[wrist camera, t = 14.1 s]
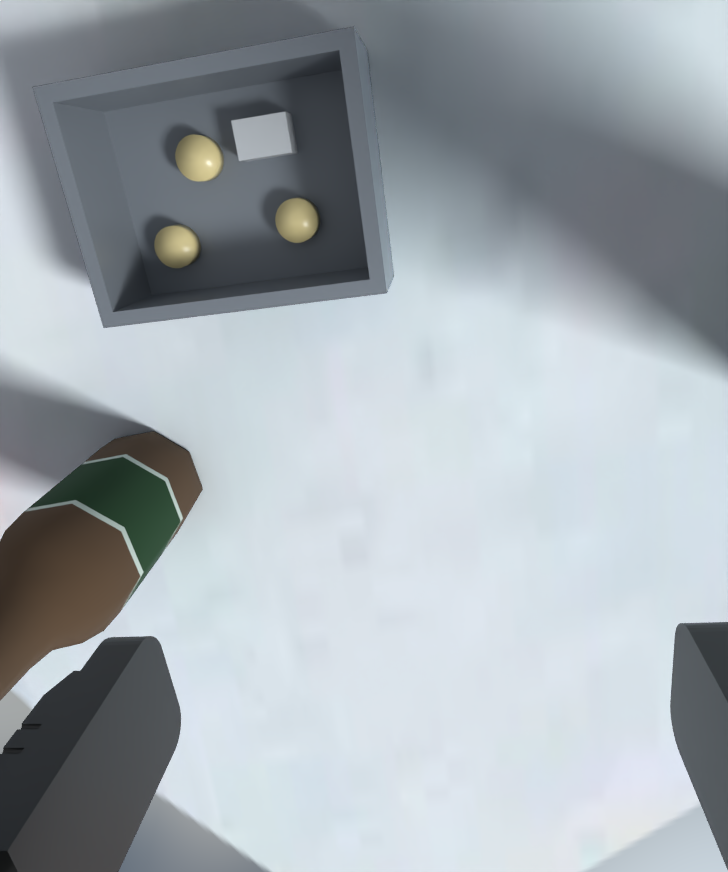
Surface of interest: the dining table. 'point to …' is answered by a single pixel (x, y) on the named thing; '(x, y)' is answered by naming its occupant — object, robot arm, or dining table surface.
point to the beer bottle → (89, 547)
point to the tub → (225, 179)
